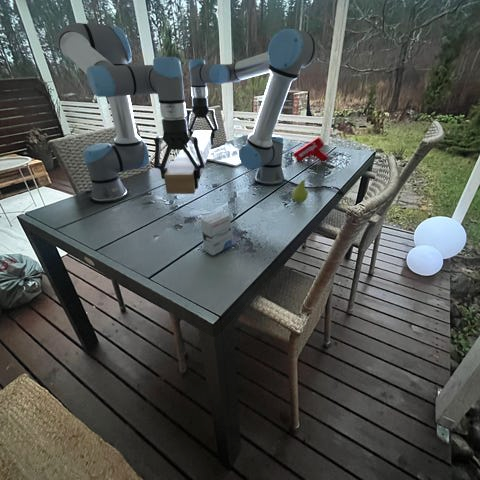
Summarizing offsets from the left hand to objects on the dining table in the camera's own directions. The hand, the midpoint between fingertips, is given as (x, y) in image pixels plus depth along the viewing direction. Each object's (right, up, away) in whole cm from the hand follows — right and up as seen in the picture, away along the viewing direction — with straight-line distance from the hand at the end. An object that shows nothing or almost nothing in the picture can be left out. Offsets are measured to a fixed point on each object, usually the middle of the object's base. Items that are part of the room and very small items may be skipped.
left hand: (182, 187), depth 95 cm
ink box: (+13, -21, -4) cm, 25 cm away
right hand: (+1, +33, +50) cm, 60 cm away
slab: (0, +16, +25) cm, 30 cm away
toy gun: (+65, +31, +77) cm, 106 cm away
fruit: (+47, -1, +27) cm, 54 cm away
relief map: (+12, +38, +88) cm, 96 cm away
